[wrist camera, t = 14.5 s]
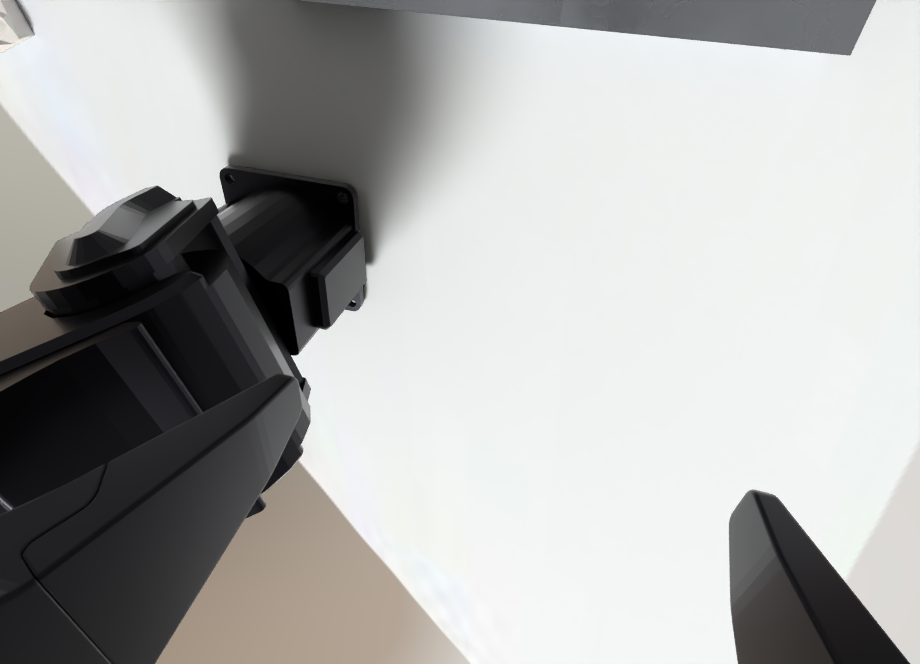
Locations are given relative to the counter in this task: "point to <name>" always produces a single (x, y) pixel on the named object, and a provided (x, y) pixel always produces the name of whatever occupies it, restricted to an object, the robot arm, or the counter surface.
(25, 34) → the packaged product
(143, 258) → the robot arm
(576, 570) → the counter surface
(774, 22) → the grey block with opening
